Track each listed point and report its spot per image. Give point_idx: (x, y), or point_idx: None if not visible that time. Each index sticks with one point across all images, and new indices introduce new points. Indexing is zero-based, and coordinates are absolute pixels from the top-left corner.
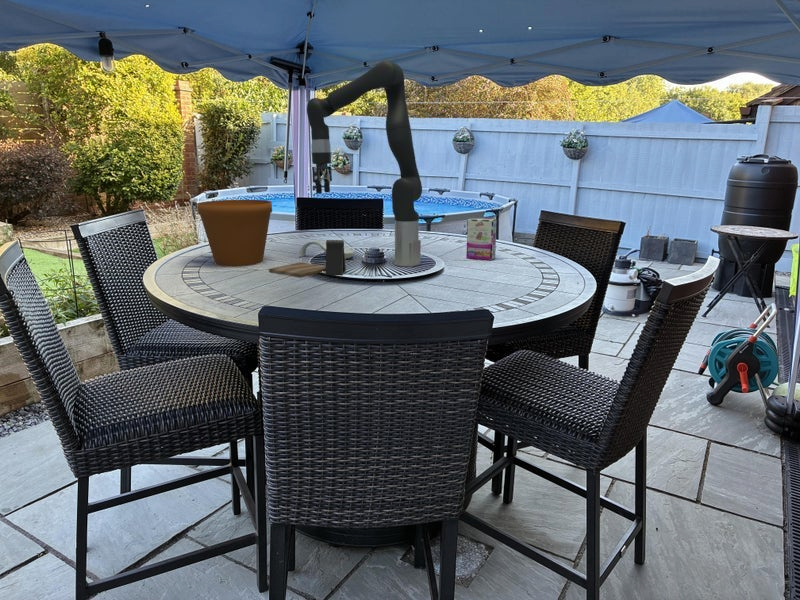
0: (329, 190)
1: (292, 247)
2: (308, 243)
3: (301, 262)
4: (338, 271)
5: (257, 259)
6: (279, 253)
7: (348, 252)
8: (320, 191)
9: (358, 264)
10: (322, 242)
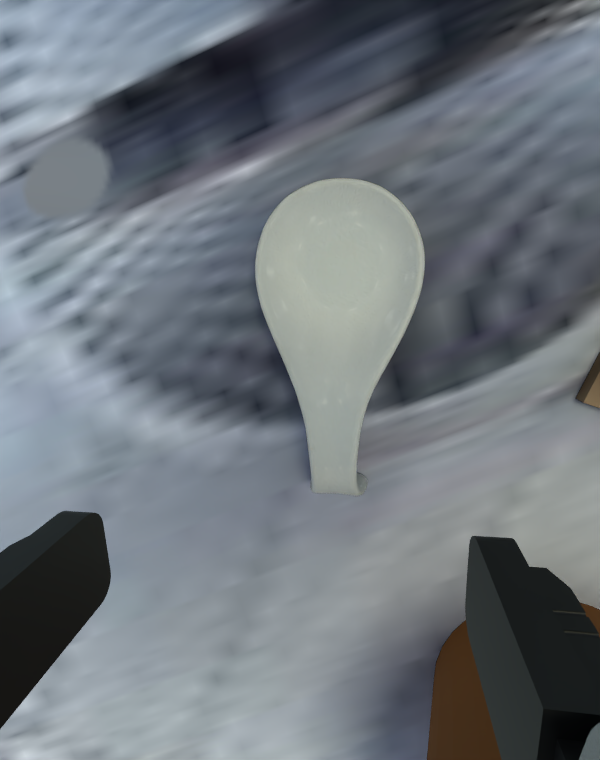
0: (72, 521)
1: (132, 602)
2: (356, 465)
3: (590, 392)
4: None
5: (588, 614)
6: (292, 602)
7: (283, 241)
8: (518, 571)
9: (488, 93)
10: (310, 396)
